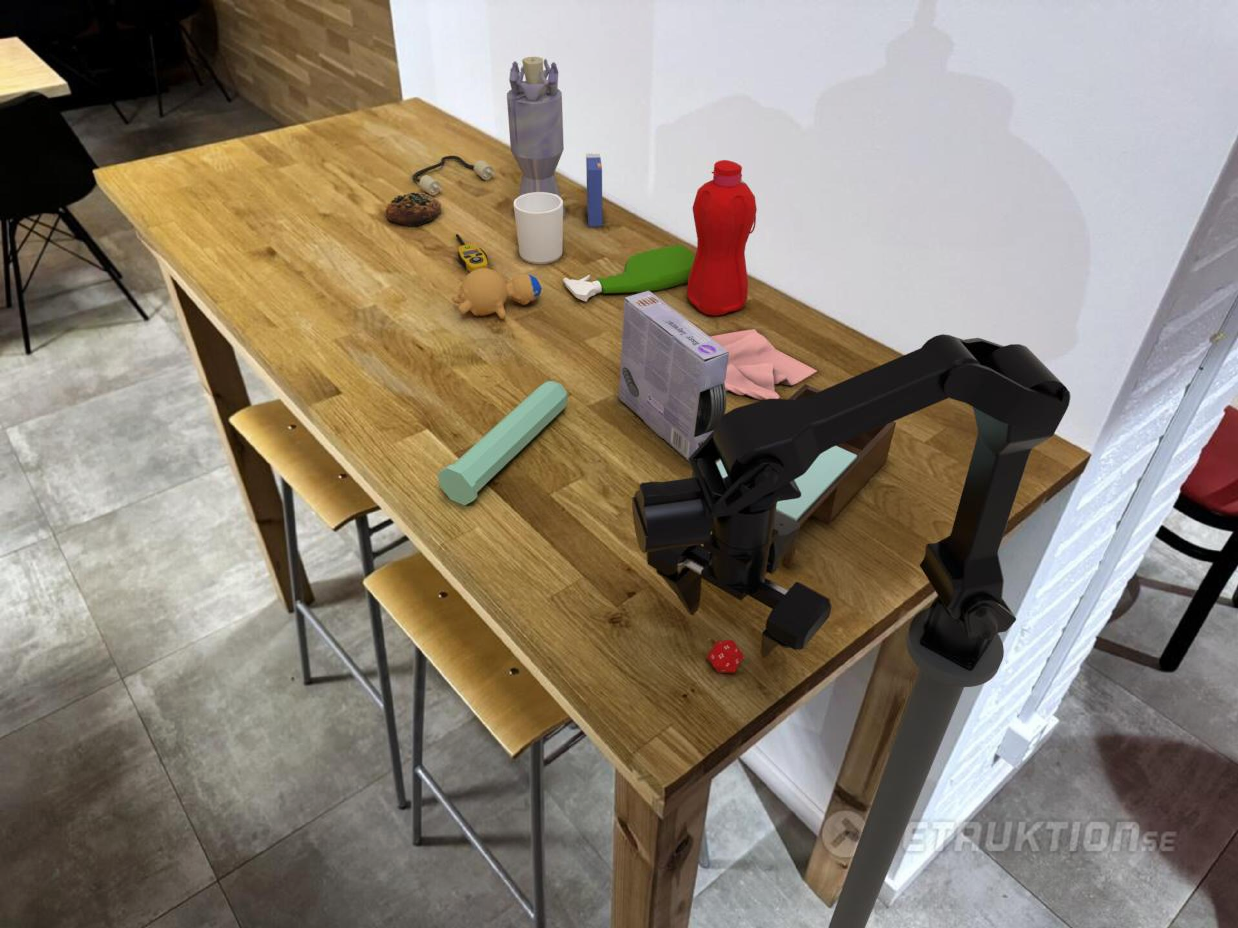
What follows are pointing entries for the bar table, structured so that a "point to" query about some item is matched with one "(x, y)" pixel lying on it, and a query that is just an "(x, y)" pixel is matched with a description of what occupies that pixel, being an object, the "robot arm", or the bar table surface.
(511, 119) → the decorative object
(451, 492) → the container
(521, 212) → the mug
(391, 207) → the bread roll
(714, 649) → the die
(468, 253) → the yellow walkie talkie
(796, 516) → the light blue box top
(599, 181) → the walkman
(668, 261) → the spray bottle
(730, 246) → the water bottle
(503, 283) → the toy
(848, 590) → the bar table surface
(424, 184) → the cable
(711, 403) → the cake pan box
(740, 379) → the cloth
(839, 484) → the display box
